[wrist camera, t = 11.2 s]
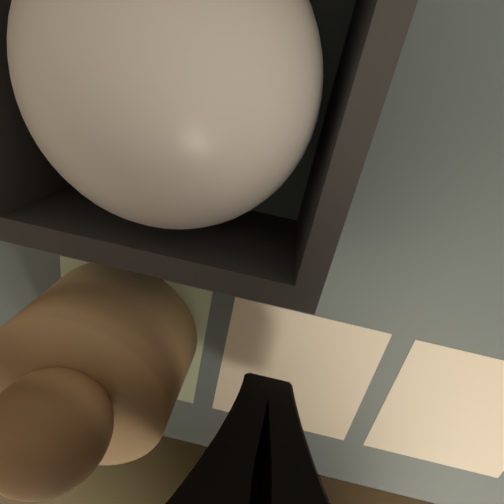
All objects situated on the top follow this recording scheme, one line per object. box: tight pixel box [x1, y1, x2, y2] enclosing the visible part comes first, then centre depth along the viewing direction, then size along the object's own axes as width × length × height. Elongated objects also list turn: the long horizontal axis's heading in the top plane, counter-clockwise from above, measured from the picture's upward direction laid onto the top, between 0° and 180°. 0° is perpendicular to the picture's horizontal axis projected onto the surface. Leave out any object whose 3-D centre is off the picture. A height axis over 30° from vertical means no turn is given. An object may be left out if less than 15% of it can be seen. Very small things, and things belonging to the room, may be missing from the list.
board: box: [0, 0, 504, 504], centre depth 9 cm, size 17×26×4 cm, turn 79°
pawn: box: [0, 262, 197, 502], centre depth 10 cm, size 5×5×5 cm
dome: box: [7, 0, 324, 230], centre depth 6 cm, size 5×5×5 cm
